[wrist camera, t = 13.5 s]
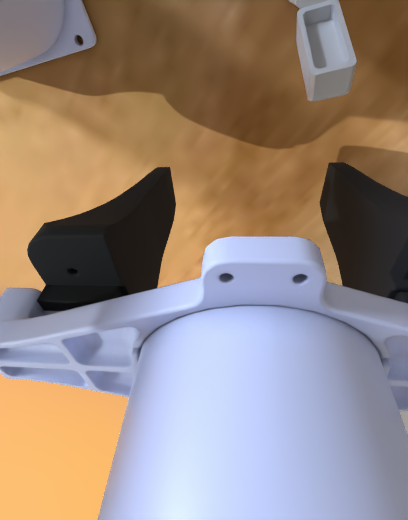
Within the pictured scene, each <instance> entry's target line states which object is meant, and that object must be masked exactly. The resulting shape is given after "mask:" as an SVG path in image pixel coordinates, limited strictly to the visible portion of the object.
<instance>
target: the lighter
mask: <svg viewBox="0 0 408 520" xmlns="http://www.w3.org/2000/svg"><path fill="white" fill-rule="evenodd" d="M288 1H289V2H291V3H292V4H294V5H295V6H297V7H298V8H300V10H299V11H298V12H297V32H296V43H297V48H298V53H299V58H300V63H301V68H302V73H303V78H304V83H305V88H306V93H307V97H308V100H309V101H312V102H315V101H319V100H324V99H328V98H333V97H337V96H342V95H346V94H348V92H349V91H350V89H351V85H352V81H353V76H354V72H355V68H356V63H357V60H356V57H355V54H354V50H353V47H352V44H351V40H350V37H349V33H348V30H347V27H346V23H345V20H344V17H343V13H342V10H341V7H340V3H339V0H288Z"/></svg>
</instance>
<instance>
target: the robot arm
mask: <svg viewBox="0 0 408 520" xmlns="http://www.w3.org/2000/svg"><path fill="white" fill-rule="evenodd" d="M77 35H79V36H81V37H82V39H83V45H82V44H80V43H79V42H78V41H77ZM95 44H96V35H95V32H94V30H93V27H92V25H91V22H90V20H89V17H88V15H87V12H86V9H85V7H84V4H83V2H82V0H0V76H2V75H5V74H8V73H11V72H15V71H18V70H21V69H24V68H27V67H31V66H34V65H37V64H40V63H43V62H47V61H50V60H53V59H56V58H60V57H63V56H66V55H69V54H72V53H76V52H79V51H82V50H85V49H88V48H91V47H93V46H94V45H95ZM175 207H176V202H175V195H174V189H173V183H172V177H171V171H170V167H157V168H156V169H154V170H153V171H152V172H150V173H149V174H148V175H147V176H145V177H144V178H143V179H142V180H140V181H139V182H138V183H137V184H135V185H134V186H133V187H131V188H130V189H128V190H127V191H125V192H124V193H123V194H121V195H120V196H118V197H116V198H115V199H113V200H111V201H109V202H107V203H105V204H103V205H101V206H99V207H96V208H94V209H92V210H89V211H87V212H84V213H81V214H78V215H75V216H72V217H68V218H65V219H61V220H56V221H52V222H48V223H44V224H43V226H42V227H41V228H40V230H39V231H38V232H37V234H36V235H35V236H34V238H33V239H32V240H31V242H30V243H29V245H28V249H27V251H28V257H29V259H30V261H31V263H32V264H33V266H34V267H35V269H36V270H37V272H38V273H39V275H40V276H41V278H42V279H43V281H44V282H45V284H46V286H45V288H44V289H43V291H42V292H41V291H39V290H37V289H33V288H7V289H6V290H5V291H4V293H3V294H2V296H1V297H0V373H1V374H2V375H3V376H4V377H6V378H9V379H22V380H33V381H41V382H49V383H56V384H61V385H67V386H73V387H78V388H83V389H88V390H94V391H99V392H104V393H109V394H115V395H120V396H125V397H129V400H128V403H127V407H126V411H125V415H124V419H123V423H122V427H121V431H120V435H119V439H118V442H117V447H116V450H115V455H114V458H113V462H112V467H111V470H110V474H109V478H108V481H107V485H106V489H105V493H104V497H103V501H102V505H101V509H100V513H99V517H98V520H408V434H407V431H406V429H405V426H404V423H403V421H402V418H401V415H400V412H401V411H408V197H406V196H404V195H401V194H399V193H397V192H395V191H393V190H391V189H389V188H387V187H385V186H383V185H381V184H380V183H378V182H376V181H374V180H373V179H371V178H369V177H368V176H366V175H364V174H363V173H361V172H360V171H358V170H356V169H355V168H353V167H352V166H350V165H348V164H346V163H344V162H340V163H329V165H328V169H327V173H326V178H325V182H324V186H323V191H322V195H321V199H320V207H321V213H322V218H323V221H324V224H325V227H326V230H327V233H328V235H329V238H330V241H331V244H332V246H333V249H334V252H335V254H336V258H337V261H338V265H339V270H340V274H341V279H342V284H343V286H341V285H337V284H333V283H329V282H327V278H326V270H325V266H324V263H323V259H322V256H321V252H320V249H319V247H318V246H317V245H316V244H314V243H313V242H312V241H311V240H309V239H305V238H300V237H226V238H221V239H217V240H215V241H213V242H212V243H211V244H210V245H208V246H207V247H206V249H205V253H204V257H203V264H202V272H201V277H200V278H197V279H193V280H189V281H185V282H181V283H177V284H173V285H168V286H164V287H160V288H157V286H158V279H159V273H160V267H161V262H162V257H163V253H164V250H165V247H166V244H167V241H168V237H169V234H170V231H171V228H172V224H173V221H174V215H175Z"/></svg>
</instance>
